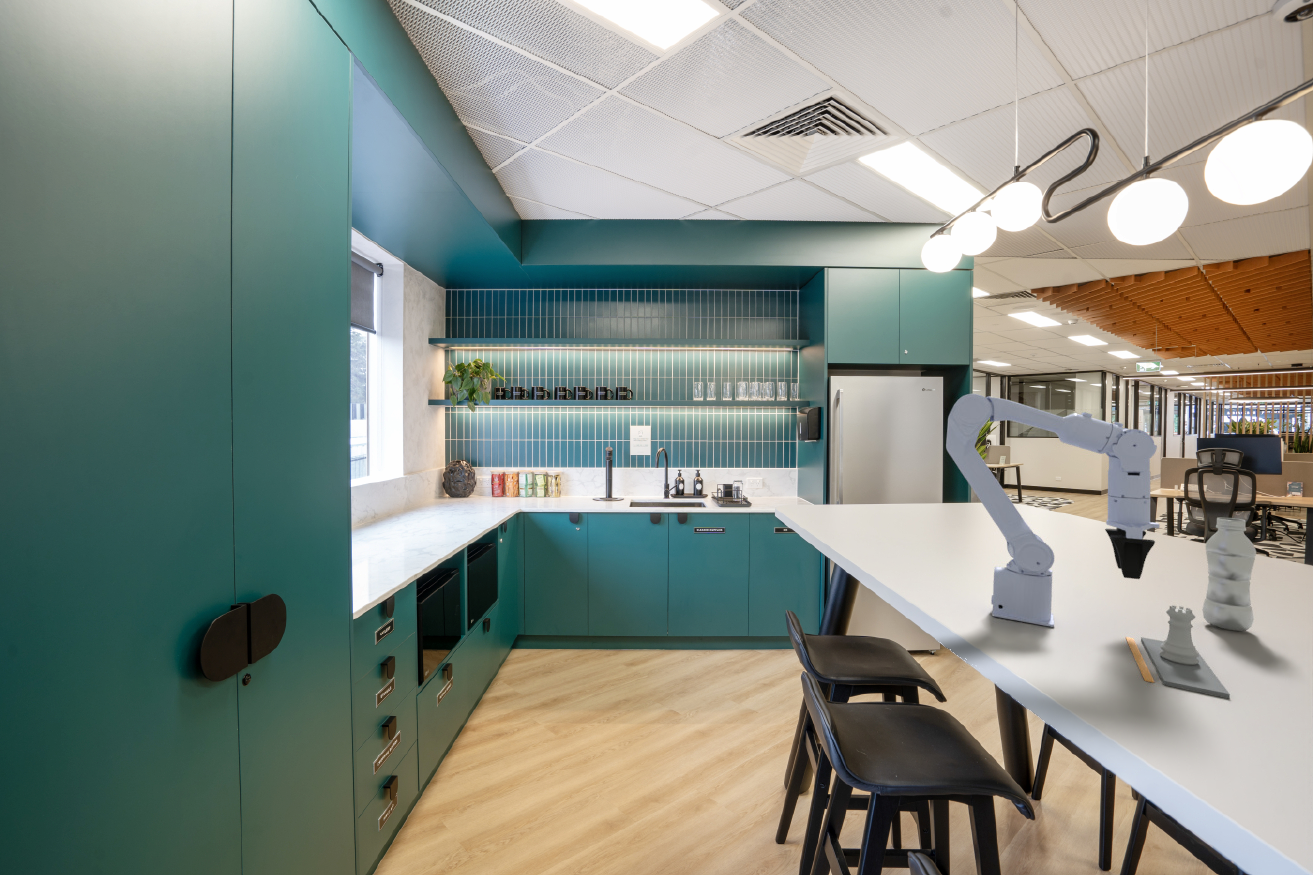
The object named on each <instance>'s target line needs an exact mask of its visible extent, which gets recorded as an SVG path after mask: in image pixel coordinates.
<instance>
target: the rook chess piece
mask: <svg viewBox="0 0 1313 875" xmlns="http://www.w3.org/2000/svg"><path fill="white" fill-rule="evenodd" d="M1165 612H1166V614H1167V616H1168V617H1169V620H1168V621H1167V623H1168V624H1169V625H1168V632H1167V637H1166V639H1164V642H1165V643H1163V644H1162V645H1161V647H1160V648H1161V649H1162V650H1163V651H1161V652H1160V655H1161V656H1162V657H1163V658H1164V659H1166V660H1168V661H1171V662H1174V663H1178V664H1182V665H1196V664H1198V663H1199V660H1198V659H1197V657H1198V656H1199V654H1200V653H1199V651H1198V650H1197V649H1196V646H1195V645H1194V643H1193V638H1192V629H1193V628H1194V626H1193V624H1192V622H1193V620H1194V619H1196V616H1195V614H1194V613H1193V609H1191V608H1189V607H1186V608H1185V609H1184V606H1182V605H1181V606H1178V608H1177V605H1173V604H1172V605H1169V609H1167V610H1166V611H1165ZM1195 649H1196V650H1197V651H1198V652H1197V651H1196V650H1195ZM1198 653H1199V654H1198Z"/></svg>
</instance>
